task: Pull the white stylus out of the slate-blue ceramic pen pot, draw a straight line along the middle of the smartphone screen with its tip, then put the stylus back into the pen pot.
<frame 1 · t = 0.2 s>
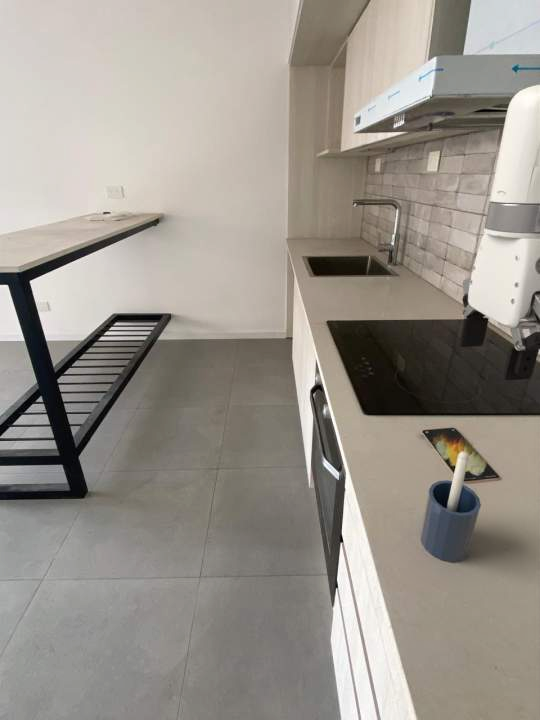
hand: (491, 360, 50), 26 cm above the worktop, tool pointing down, fingers open, 9 cm apart
smartphone: (456, 455, 73), on the worktop
pen pot: (443, 544, 56), on the worktop
stylus: (444, 542, 55), resting on pen pot
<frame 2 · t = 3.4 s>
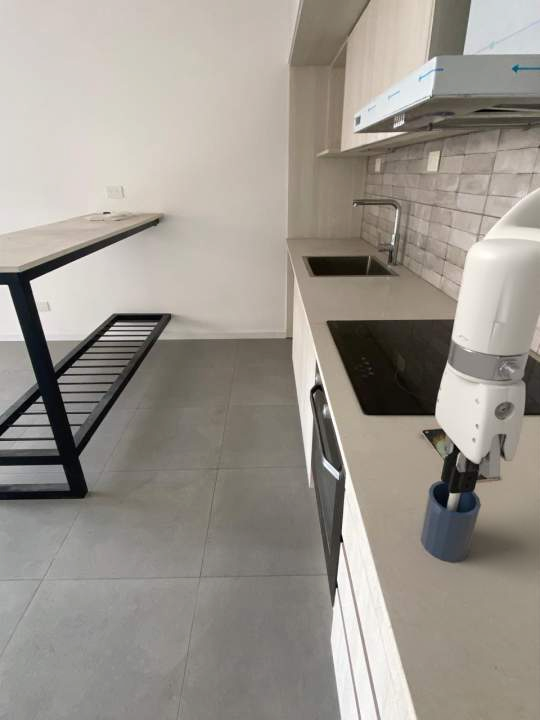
hand: (456, 485, 51), 11 cm above the worktop, tool pointing down, fingers closed on stylus, 1 cm apart
stylus: (444, 542, 55), resting on pen pot, touching gripper
everything else where it was.
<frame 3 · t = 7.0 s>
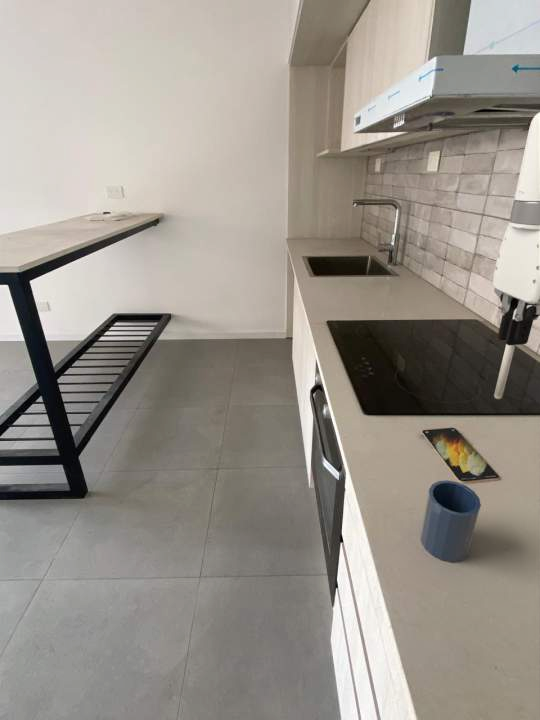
hand: (511, 340, 61), 24 cm above the worktop, tool pointing down, fingers closed on stylus, 1 cm apart
stylus: (497, 399, 65), point 13 cm above the worktop, touching gripper
everything else where it was.
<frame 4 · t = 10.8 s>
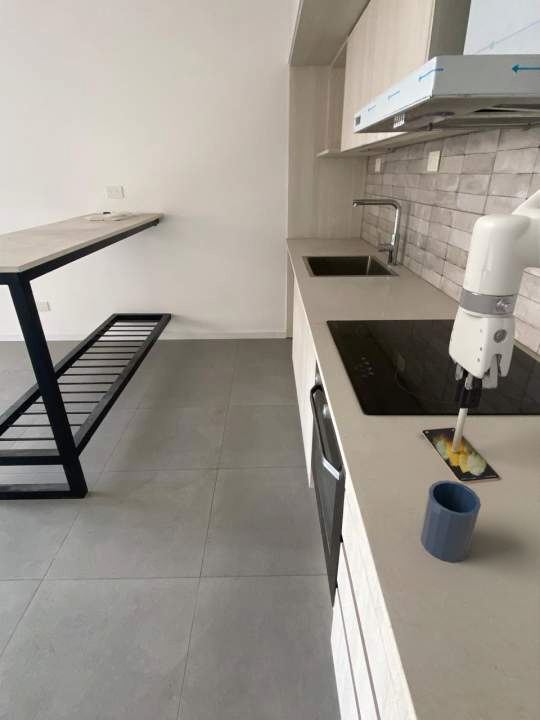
hand: (465, 403, 68), 11 cm above the worktop, tool pointing down, fingers closed on stylus, 1 cm apart
stylus: (454, 452, 72), point 1 cm above the worktop, touching gripper
everything else where it was.
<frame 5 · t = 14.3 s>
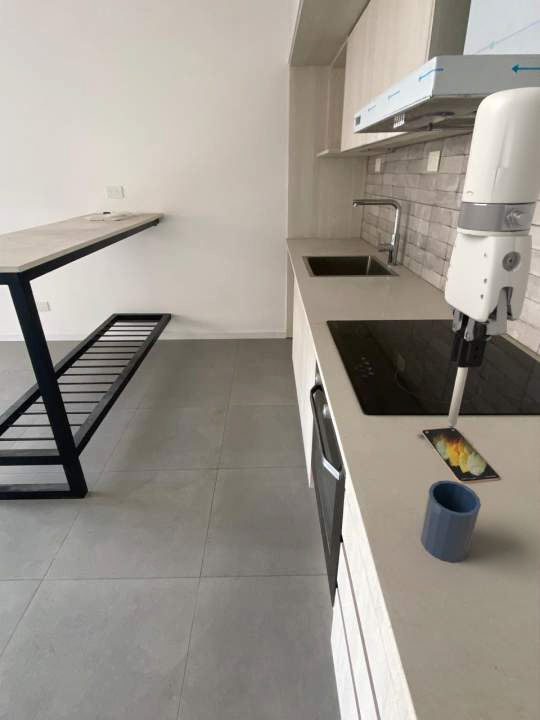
hand: (464, 362, 53), 24 cm above the worktop, tool pointing down, fingers closed on stylus, 1 cm apart
stylus: (451, 427, 58), point 14 cm above the worktop, touching gripper
everything else where it was.
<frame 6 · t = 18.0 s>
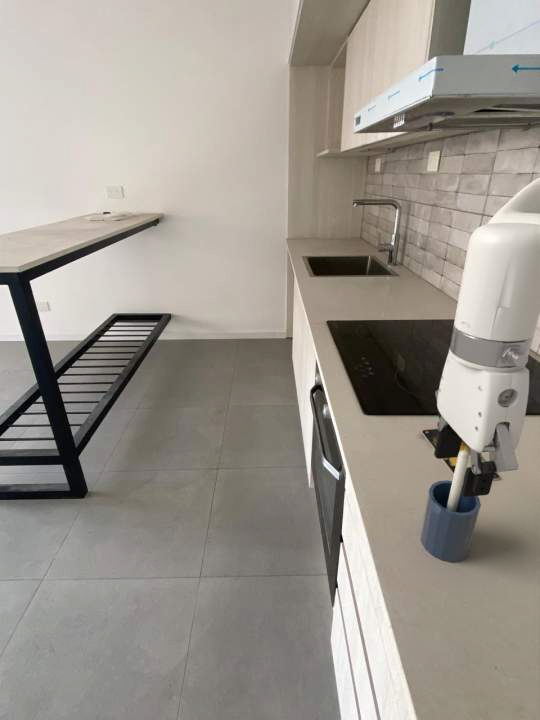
hand: (459, 473, 50), 13 cm above the worktop, tool pointing down, fingers open, 6 cm apart
stylus: (443, 542, 55), resting on pen pot
everything else where it was.
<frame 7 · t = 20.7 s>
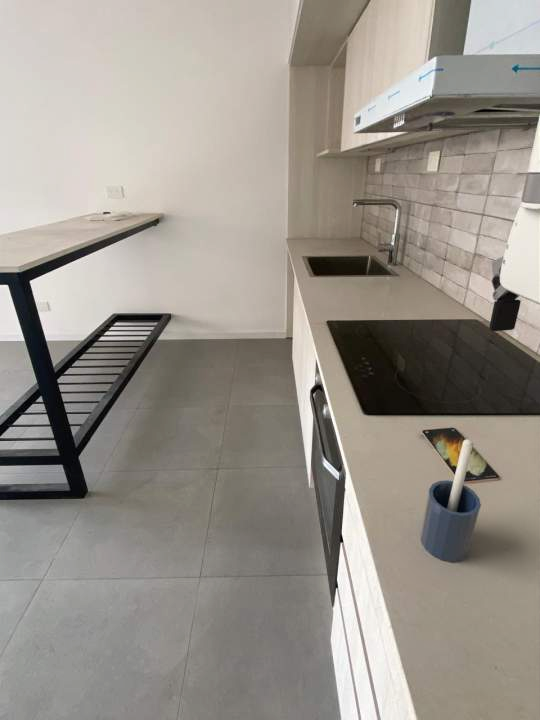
hand: (526, 344, 48), 28 cm above the worktop, tool pointing down, fingers open, 9 cm apart
stylus: (443, 542, 55), point 1 cm above the worktop, tilted 13°, touching pen pot
everything else where it was.
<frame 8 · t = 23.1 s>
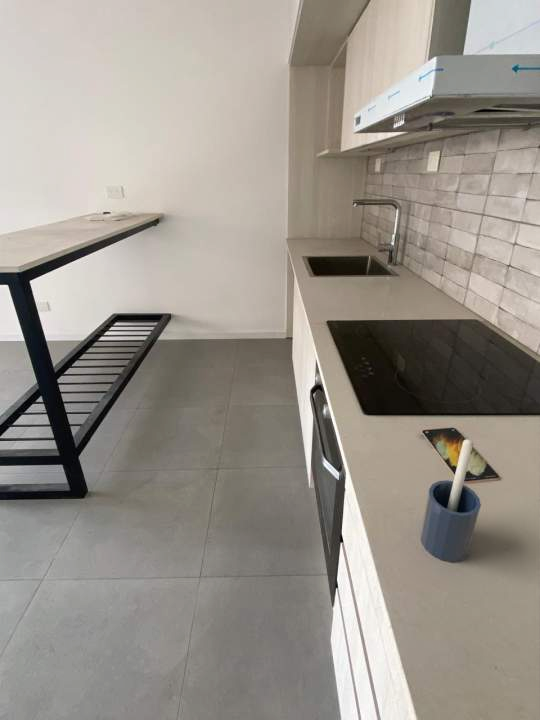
nothing on the worktop moved.
at the end: stylus 0.0 cm off-centre in the pen pot, point 0.5 cm above the pen pot's base; the gripper is holding nothing; smartphone moved 0.0 cm from its start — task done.
